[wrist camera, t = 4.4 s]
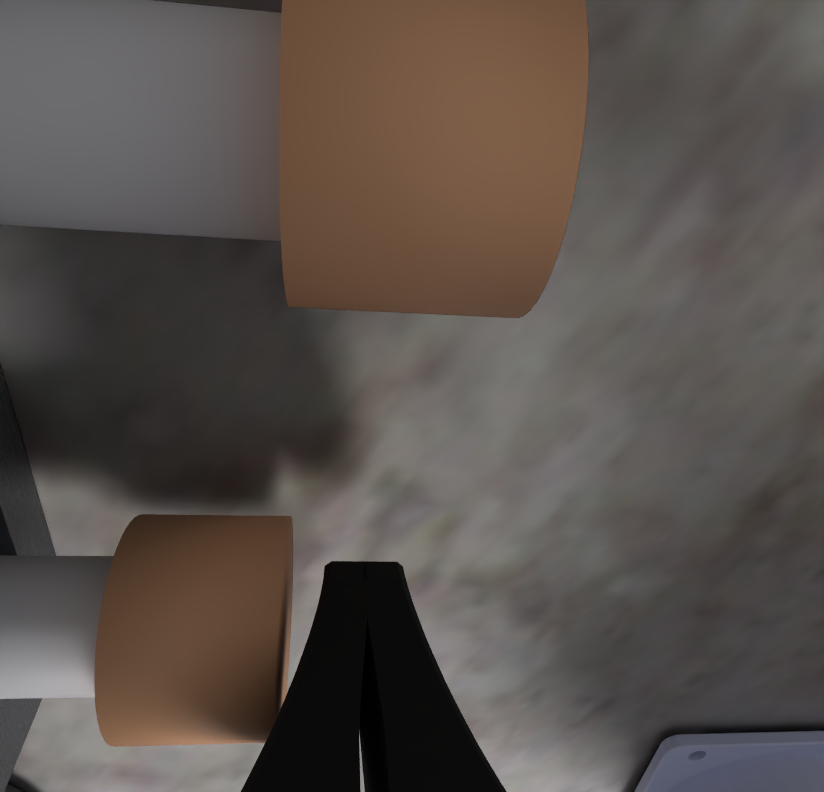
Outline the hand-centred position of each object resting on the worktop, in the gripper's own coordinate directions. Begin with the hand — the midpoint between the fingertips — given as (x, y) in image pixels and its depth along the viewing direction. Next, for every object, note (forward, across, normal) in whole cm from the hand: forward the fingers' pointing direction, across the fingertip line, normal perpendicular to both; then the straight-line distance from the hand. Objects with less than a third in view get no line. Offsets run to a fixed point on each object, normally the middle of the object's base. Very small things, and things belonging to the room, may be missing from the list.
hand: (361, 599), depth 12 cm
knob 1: (+1, +5, 0) cm, 5 cm away
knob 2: (+1, +3, -8) cm, 9 cm away
